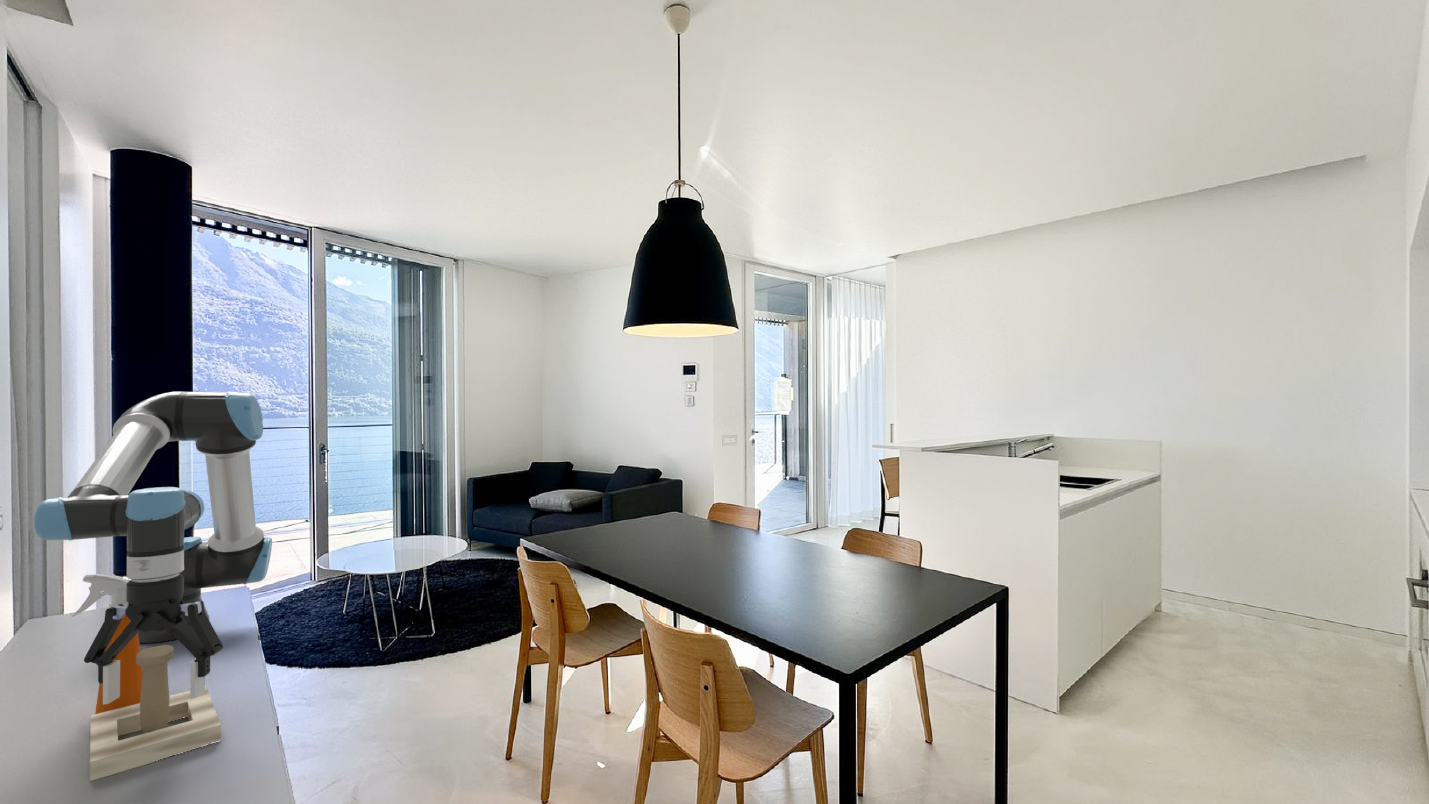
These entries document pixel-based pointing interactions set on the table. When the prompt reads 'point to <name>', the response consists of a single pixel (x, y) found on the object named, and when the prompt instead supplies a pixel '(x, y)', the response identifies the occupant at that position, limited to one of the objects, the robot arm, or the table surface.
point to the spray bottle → (127, 656)
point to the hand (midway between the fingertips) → (155, 697)
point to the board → (150, 734)
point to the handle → (154, 687)
